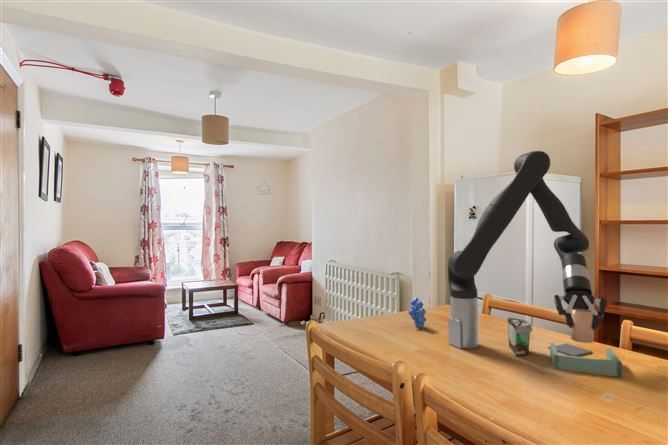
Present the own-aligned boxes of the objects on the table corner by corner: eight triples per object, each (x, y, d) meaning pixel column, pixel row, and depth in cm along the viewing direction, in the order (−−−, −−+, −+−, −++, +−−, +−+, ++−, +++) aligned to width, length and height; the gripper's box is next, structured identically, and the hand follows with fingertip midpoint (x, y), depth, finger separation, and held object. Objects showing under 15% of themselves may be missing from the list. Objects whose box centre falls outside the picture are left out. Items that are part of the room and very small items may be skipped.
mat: (573, 357, 122) (573, 355, 122) (548, 348, 131) (548, 346, 131) (592, 353, 126) (592, 351, 126) (566, 345, 134) (566, 343, 134)
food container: (537, 359, 122) (537, 327, 121) (517, 357, 123) (516, 326, 123) (526, 346, 134) (526, 317, 134) (507, 345, 135) (507, 317, 135)
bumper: (622, 377, 107) (621, 362, 107) (554, 368, 113) (554, 355, 113) (611, 361, 118) (610, 348, 118) (550, 354, 125) (550, 342, 125)
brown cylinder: (584, 343, 112) (584, 313, 112) (566, 338, 118) (566, 309, 118) (597, 341, 115) (597, 311, 115) (579, 336, 120) (578, 307, 120)
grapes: (402, 323, 166) (402, 296, 166) (417, 322, 167) (416, 295, 167) (414, 331, 154) (414, 301, 154) (429, 329, 156) (429, 300, 156)
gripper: (551, 273, 126) (556, 318, 115) (604, 275, 120) (614, 323, 109) (550, 287, 131) (554, 331, 120) (600, 290, 125) (609, 336, 114)
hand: (582, 327), depth 115 cm, fingers closed on brown cylinder, 5 cm apart
